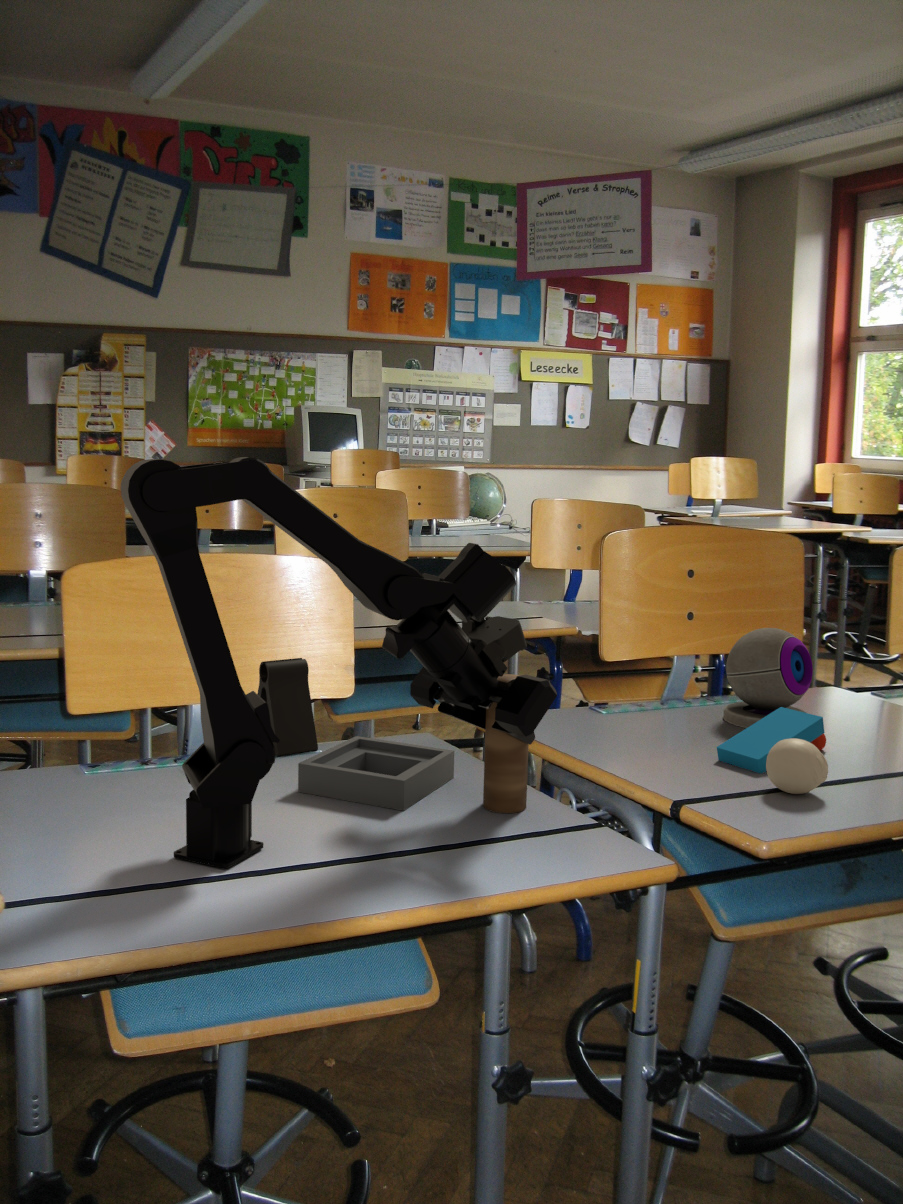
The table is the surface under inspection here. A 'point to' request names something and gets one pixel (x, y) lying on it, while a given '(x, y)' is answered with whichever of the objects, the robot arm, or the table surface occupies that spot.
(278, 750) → the door stopper
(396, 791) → the box
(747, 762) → the teal long block
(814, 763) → the beige ball
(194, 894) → the table surface
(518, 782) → the walnut peg
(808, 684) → the webcam
